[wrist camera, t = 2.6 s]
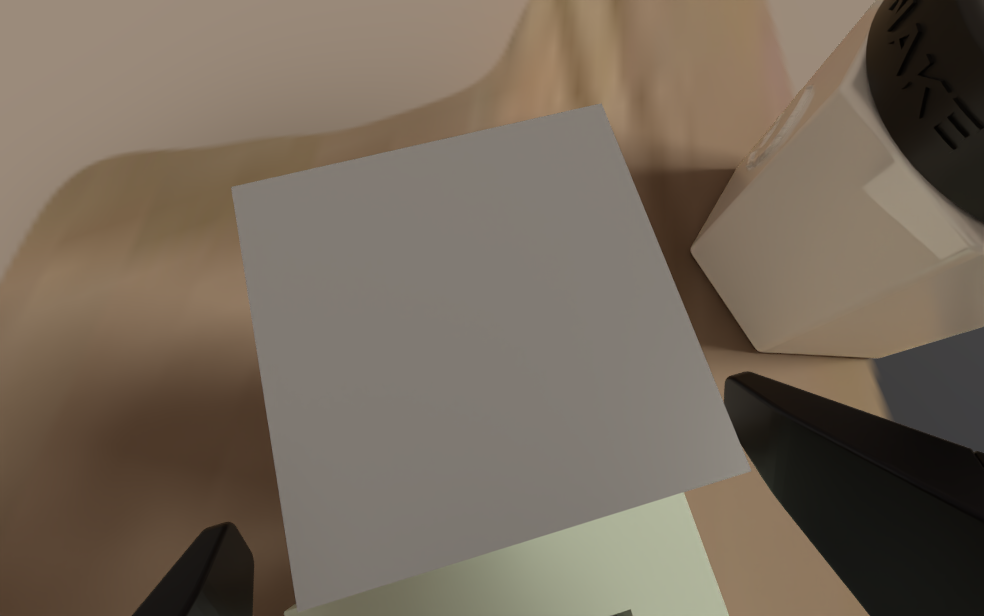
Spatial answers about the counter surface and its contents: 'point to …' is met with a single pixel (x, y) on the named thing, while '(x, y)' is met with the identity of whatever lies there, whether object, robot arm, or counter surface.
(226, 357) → the counter surface
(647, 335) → the plug
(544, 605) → the socket
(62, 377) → the counter surface
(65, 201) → the counter surface
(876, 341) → the jar
